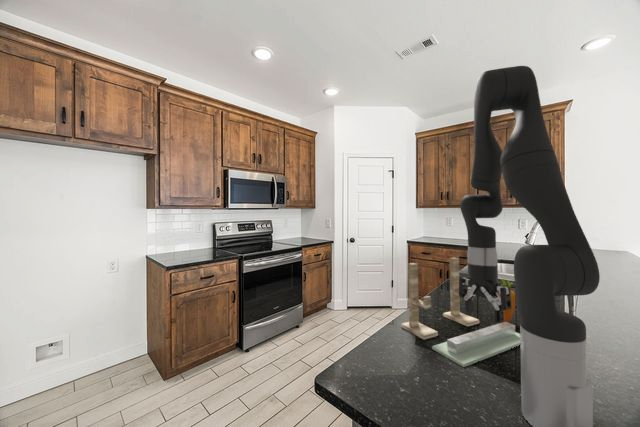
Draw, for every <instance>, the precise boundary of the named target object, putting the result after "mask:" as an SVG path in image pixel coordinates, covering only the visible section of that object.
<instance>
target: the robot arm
mask: <svg viewBox="0 0 640 427" xmlns="http://www.w3.org/2000/svg"><path fill="white" fill-rule="evenodd" d="M538 87H539V86H538V82H537V79H536V75H535V73H534V71H533V69H532V68H531V67H530V66H528V65H516V66H509V67H501V68H496V69H489V70H485V71H484V72H482V73H481V75H480V76H479V77H478V79H477V81H476V85H475V89H474V90H475V91H474V95H473V96H474V99H473V131H474V132H473V138H474V141H473V142H474V149H473V151H474V152H473V162H472V169H471V177H470V185H471V187H472V188H473V189H475V190H479V191H482V192H487V193H485V194H467V195H464V196H463V197H462V199H461V201H460V204H459V205H460V207H459V208H460V212H461V215H462V217H463V220H464V224H465V227H466V231H467V255H466V256H467V276H468V277H466V276H465V277H459V296H460V298H462V299H464V301H465V302H464V304H465V307H464V308H465V311H466V313H468V314H473V313H474V300H473V299H474V298H475V297H480V298H483V299H486V300H488V302H489V303H490V304H492V306H493V307H494V313H493V314H494V323H495V324H499V323H502V322H505V319H504V310H507V309H511V308H512V304H511V293H510V290H511V288H509V287H508V286H507V287H505V286H504V287H502V286H501V285H499V284H498V281H499V280H498V278H499V276H498V275H499V271H498V269H499V264H498V260H499V259H498V252H497V239H496V238H497V234H496V233H497V232H496V229H494V227H492V226H488V225H487V226H486V225H481V224H479V222H478V221H477V219H495V218H497V217H499V216H500V215H501V213H502V211H503V209H504V208H503V201H502V200H503V199H502V195H501V179H502V177H503V180H504V181H503V182H504V185H505V187H506V189H507V191H508V192H509V193H510V195H511V196H512V197H513V198H514V199H515V200H516V201H517V202H518V203H519V204H520V205H521V206H522V207H523V208H524V209H525V210H526V212H529V214H530V215H531V216H533V218H534V219H535V220H536V222H537V223H538V224H539V226H540V227H541V230H542V231H543V234H544V237H545V239H546V242H547V244H528V245H523V246H522V247H520V248H519V249H518V250H517V251H516V253H515V256H514V260H513V276H514V277H513V278H514V286H515V287H514V288H515V289H514V290H515V305H516V309H517V312H518V316H519V329H520V330H519V334H520V348H519V349H520V394H521V395H520V396H521V397H520V398H521V399H520V402H521V414H522V416H524V417H523V418H524V420H525V421H526V420H527V421H528V422H527V421H526V422H527V423H529V425H531V426H532V427H594V411H593V410H594V408H593V407H594V406H593V405H594V404H593V403H594V402H593V400H594V393H593V390H594V389H593V386H594V385H593V384H594V383H593V381H592V380H591V379H588V378H587V377H588V376H587V373H588V372H587V369H588V368H587V328H586V324H585V322H584V321H583V320H582V319H581V318H579V317H577V316H576V315H574V314H571V313H569V312H566V311H563V310H560V309H559V308H557V302H556V297H555V296H567V297H569V296H574V297H575V296H588V295H590V294H592V293H594V292H595V291H597V289H598V286H599V283H600V279H601V278H600V269H599V265H598V261H597V259H596V256H595V253H594V251H593V250H592V247H591V246H590V242H589V241H588V238H587V237H586V234H585V233H584V231H583V228H582V226H581V224H580V222H579V220H578V217H577V215H576V213H575V211H574V207H573V205H572V203H571V200H570V197H569V194H568V191H567V189H566V186H565V183H564V179H563V176H562V172H561V168H560V164H559V161H558V159H557V156H556V152H555V150H554V147H553V145H552V142H551V138H550V135H549V133H548V129H547V126H546V123H545V122H546V121H545V119H544V115H543V114H544V113H543V109H542V104H541V100H540V93H539V88H538ZM504 110H505V111H507V110H512V112H513V114H514V118H515V125H514V128H513V131H512V133H511V135H510V136H509V138H508V140H507V142H506V143H505V146H504V148H503V149H502V148H501V146H500V143H499V142H498V140H497V139H496V137H495V134H494V133H493V129H492V124H491V122H492V120H491V118H492V112H497V111H504ZM468 287H471V288H470V290H469V291H468ZM499 294H500V295H501V298H500V297H499Z"/></svg>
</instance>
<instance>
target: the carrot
mask: <svg viewBox="0 0 640 427" xmlns="http://www.w3.org/2000/svg"><path fill="white" fill-rule="evenodd" d="M501 282H502V284H500V286H501V287H509V288H510V293H511V304H512V308H511V309H507V310H504V322H508V323H511V320H512V318H513V317H514V313H515V310H516V309H515V308H516V292H515V291H513V290H511V288H512V287H513V285H514V283H513V282H510V281H509V280H507V282H506V280H505V279H504V278H502V279H501ZM498 295H499V297H500V298H501V295H500V294H499V293H498Z"/></svg>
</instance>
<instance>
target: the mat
mask: <svg viewBox="0 0 640 427" xmlns="http://www.w3.org/2000/svg"><path fill="white" fill-rule="evenodd" d="M519 345H520V332H517V331H515V335H514V336H511V337H508V338H505V339H502V340H499V341H496V342H494V343H491V344H488V345H485V346H482V347H479V348H477V349H474V350H471V351H468V352H465V353H462V354H460V355H455V354H453V353H452V352H450V351H448V350H447V341H444V342H441V343H438V344H435V345H432V346H431V349H432V350H433V351H435V352H436V353H438V354H440V355H442V356H443V357H445V358H447V359H449V360H451V361H452V362H454V363H455V364H457V365H459V366H461V367H462V368H465V367H468V366H471V365H473V364H475V363H478V361H479V362H481V361H483V360H486V359H489V358H492V357H494V356H497V355H499V354H502V353H504V352H506V351H509V350H511V348H512V349H514V347H515V348H517V347H519ZM516 346H517V347H516Z"/></svg>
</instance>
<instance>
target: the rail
mask: <svg viewBox="0 0 640 427" xmlns="http://www.w3.org/2000/svg"><path fill="white" fill-rule="evenodd" d="M515 332H516V325H515V324H513V323H511V322H506V321H502V323H499V324H498V323H495V324H491V325H490V326H485V327H484V328H483V327H482V328H479V329H476V330H474V331H470V332H467V333H463V334H461V335H458V336H454V337H451V338H447V339H446V342H447V350H448V351H450V352H452V353H453V354H455V355H460V354H462V353H465V352H468V351H471V350H474V349H477V348H479V347H482V346H485V345H488V344H491V343H494V342H496V341H499V340H502V339H505V338H508V337H511V336H514V335H515Z"/></svg>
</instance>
